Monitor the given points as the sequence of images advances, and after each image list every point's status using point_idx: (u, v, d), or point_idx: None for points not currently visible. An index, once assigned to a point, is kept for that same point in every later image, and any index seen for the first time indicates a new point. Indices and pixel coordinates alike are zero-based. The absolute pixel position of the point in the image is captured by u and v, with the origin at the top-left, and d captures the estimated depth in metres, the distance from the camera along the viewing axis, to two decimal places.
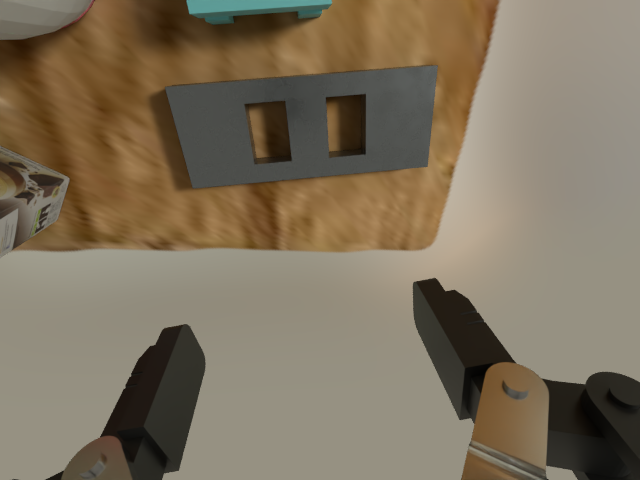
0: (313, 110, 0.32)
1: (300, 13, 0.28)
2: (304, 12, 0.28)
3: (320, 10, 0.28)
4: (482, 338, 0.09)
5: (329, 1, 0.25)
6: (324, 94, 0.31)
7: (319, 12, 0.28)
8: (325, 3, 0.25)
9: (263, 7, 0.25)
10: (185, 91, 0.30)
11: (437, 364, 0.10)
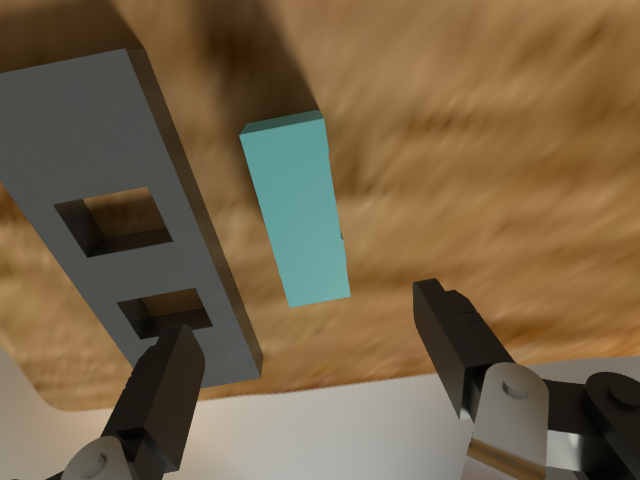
0: (173, 276, 0.23)
1: None
2: None
3: None
4: (482, 338, 0.09)
5: (291, 305, 0.21)
6: (197, 285, 0.24)
7: None
8: (288, 301, 0.20)
9: (270, 237, 0.18)
10: (130, 87, 0.17)
11: (437, 364, 0.10)
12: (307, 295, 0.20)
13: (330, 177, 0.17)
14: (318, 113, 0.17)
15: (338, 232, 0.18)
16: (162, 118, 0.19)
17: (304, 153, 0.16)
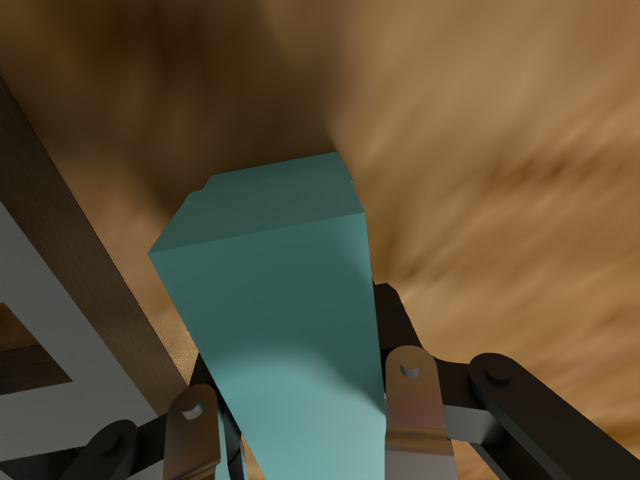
0: (82, 426, 0.13)
1: None
2: None
3: None
4: (399, 325, 0.10)
5: None
6: None
7: None
8: None
9: (242, 426, 0.09)
10: None
11: None
12: None
13: (374, 327, 0.07)
14: (346, 180, 0.07)
15: (382, 412, 0.09)
16: (22, 175, 0.09)
17: (317, 286, 0.07)
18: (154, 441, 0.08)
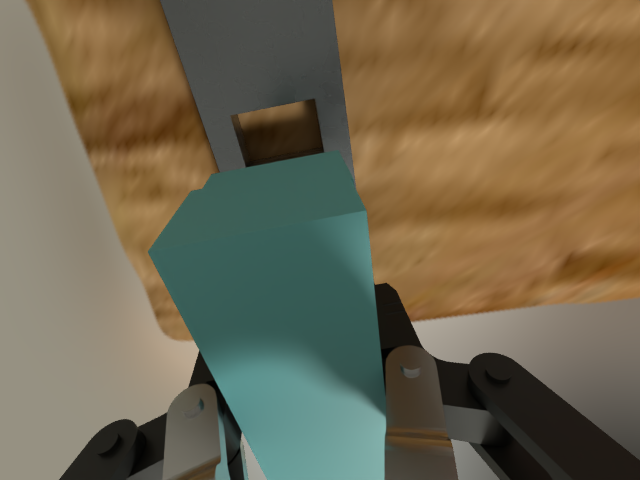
0: None
1: None
2: None
3: None
4: (399, 325, 0.10)
5: None
6: None
7: None
8: None
9: (242, 425, 0.09)
10: (322, 0, 0.19)
11: None
12: None
13: (375, 326, 0.07)
14: (347, 179, 0.07)
15: (382, 411, 0.09)
16: None
17: (317, 285, 0.07)
18: (154, 441, 0.08)
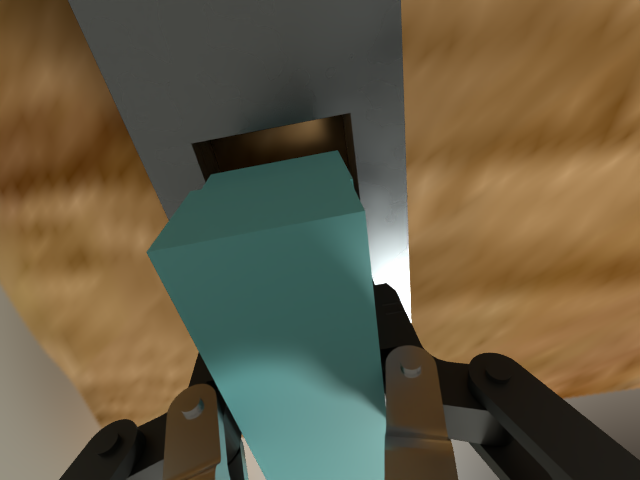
0: None
1: None
2: None
3: None
4: (399, 325, 0.10)
5: None
6: (374, 279, 0.16)
7: None
8: None
9: (241, 426, 0.09)
10: None
11: None
12: None
13: (374, 326, 0.07)
14: (346, 179, 0.07)
15: (382, 412, 0.09)
16: None
17: (316, 285, 0.07)
18: (154, 441, 0.08)
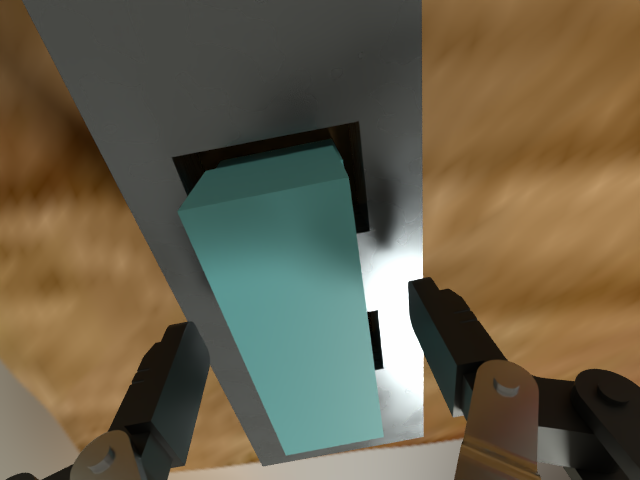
0: None
1: None
2: None
3: None
4: (475, 336, 0.09)
5: (289, 452, 0.13)
6: (383, 306, 0.14)
7: None
8: (284, 448, 0.13)
9: (250, 369, 0.10)
10: None
11: (432, 362, 0.10)
12: (314, 439, 0.13)
13: (360, 278, 0.09)
14: (336, 157, 0.09)
15: (369, 358, 0.10)
16: None
17: (312, 241, 0.08)
18: None
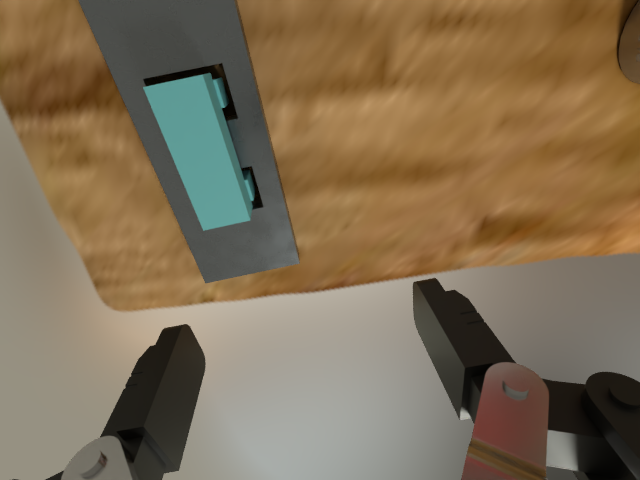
0: None
1: None
2: None
3: None
4: (482, 338, 0.09)
5: (204, 228, 0.27)
6: (254, 164, 0.28)
7: None
8: (201, 225, 0.27)
9: (178, 169, 0.24)
10: None
11: (437, 364, 0.10)
12: (215, 219, 0.26)
13: (216, 120, 0.23)
14: None
15: (230, 165, 0.24)
16: (236, 4, 0.23)
17: (194, 101, 0.22)
18: None
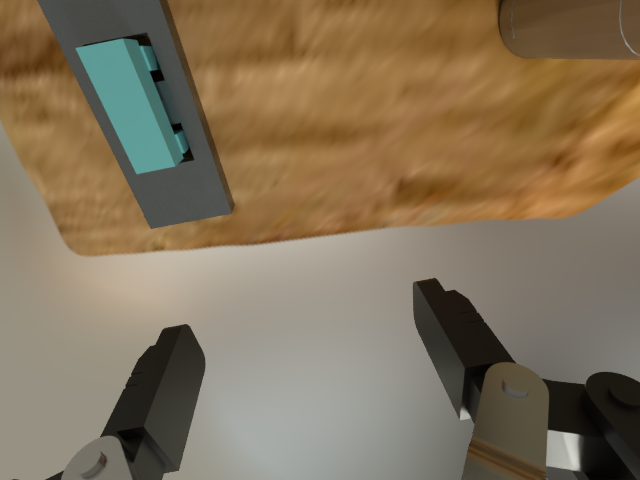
0: None
1: None
2: None
3: None
4: (482, 338, 0.09)
5: (137, 172, 0.32)
6: (182, 121, 0.33)
7: None
8: (134, 169, 0.32)
9: (110, 119, 0.29)
10: None
11: (437, 364, 0.10)
12: (146, 164, 0.32)
13: (137, 77, 0.28)
14: (130, 39, 0.28)
15: (153, 116, 0.30)
16: None
17: (117, 61, 0.27)
18: None
